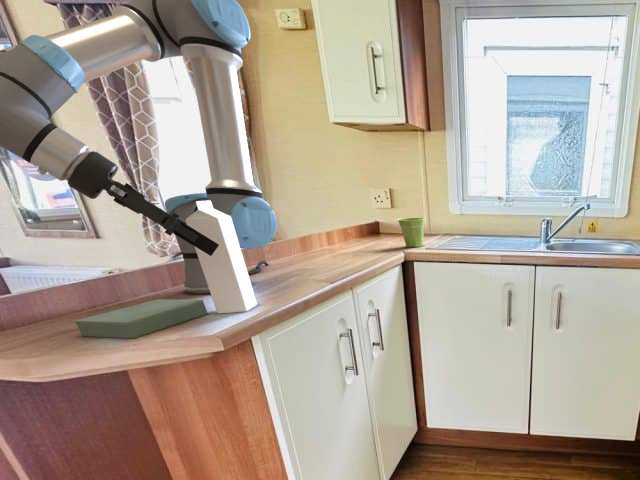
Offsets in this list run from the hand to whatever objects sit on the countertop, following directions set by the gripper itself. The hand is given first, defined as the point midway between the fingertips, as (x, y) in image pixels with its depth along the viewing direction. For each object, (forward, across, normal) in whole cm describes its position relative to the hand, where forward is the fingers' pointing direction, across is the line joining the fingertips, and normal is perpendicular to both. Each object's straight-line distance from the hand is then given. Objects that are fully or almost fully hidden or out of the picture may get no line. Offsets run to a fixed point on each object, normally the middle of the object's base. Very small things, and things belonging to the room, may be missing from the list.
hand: (211, 247), depth 87 cm
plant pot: (+64, -67, +45) cm, 103 cm away
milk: (+10, 0, -9) cm, 13 cm away
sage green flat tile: (-1, 0, -20) cm, 20 cm away
